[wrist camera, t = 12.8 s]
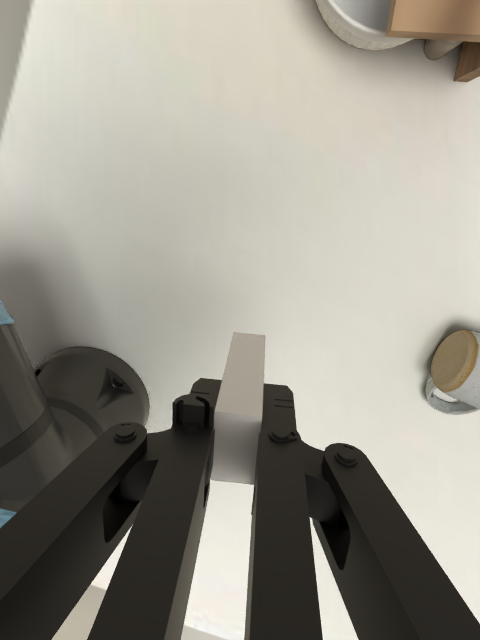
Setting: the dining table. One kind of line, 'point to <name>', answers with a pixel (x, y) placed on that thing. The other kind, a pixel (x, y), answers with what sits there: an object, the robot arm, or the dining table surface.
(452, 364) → the ceramic mug
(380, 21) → the ramekin
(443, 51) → the walnut shelf
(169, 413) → the dining table surface
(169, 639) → the robot arm
